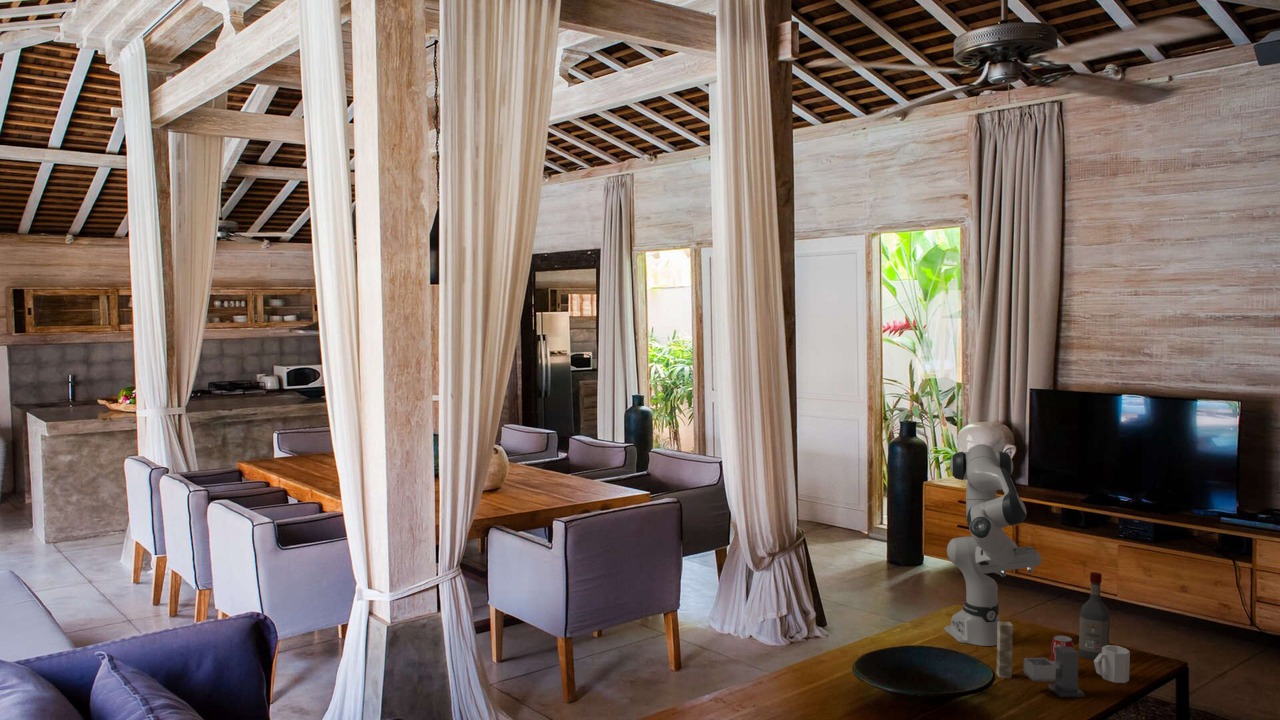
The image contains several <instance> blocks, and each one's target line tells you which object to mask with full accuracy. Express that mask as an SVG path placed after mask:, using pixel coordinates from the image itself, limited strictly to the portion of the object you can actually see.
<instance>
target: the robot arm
mask: <svg viewBox="0 0 1280 720" xmlns="http://www.w3.org/2000/svg"><path fill="white" fill-rule="evenodd" d="M949 470H950V472H951V475H952V476H953V478H954V479H956V480H959V481H960V480H961V481H964V480H965V481H966V487H965V488H966V490H965V508H966V509H965V510H966V512H965V513H966V523H967V527H968V529H969V532H970V535H971V536H959V537H954V538H951V540H949V542H948V544H947V547H946V553H947V557H948V560H949V561H950V562H951V563H952V564H953V565H955V566H956V567H957V569H959V570H960V572H961V573H962V575H963V578H964V581H965V591H966V593H965V594H966V595H965V598H966V600H963V601H962V602H961V604H963V606H962V609H961V610H959V611H957V612H956V613H954V614H953V615H952V616H951V621H950V624H949V625H946V626H944V631H945V632H947V634H949V635H950V636H951V637H953V638H954V639H955V640H956V641H957V642H959V643H962V644H970V645H975V646H981V647H985V646H986V647H991V646H992V647H993V646H997V626H998V621H1000V622H1001V618H1000V616H999V611H1000V607H999V604H998V595H999V594H998V590H999V587H998V583H997V582H996V580H995V579H993V578H992V577H990V575H987V574H991V573H992V574H993V573H994V574H997V575H1000V576H1001V578H1003V577H1007V572H1006V571H1014V570H1019V569H1026V568H1027V572H1028V573H1034V571H1035V569H1034V568H1035V567H1039V566H1041V564H1042V556H1041V554H1040V553H1039V551H1037V550H1036V549H1035V547H1031V546H1020V547H1019V546H1018V545H1017V543H1016V542H1015V541H1014V540H1013V539H1011V538H1010V537H1009V535H1007V534H1006V533H1005V531H1004V530H1003V528H1006V527H1010V526H1014V525H1020V524H1022V523H1023V522H1024V520H1025V519H1026V517H1027V515H1028V513H1027V509H1026V505H1025V503H1024V501H1023V500H1022V499H1021V497H1020V495H1019V492H1018V490H1017V488H1016V486H1015V483H1014V481H1013V478H1012V474H1013V471H1014V461H1013V460H1012V457H1011V455H1010V454H1009V453H1008V452H1004V451H999V452H998V451H994V449H993V448H992V447H991V446H990V445H987V444H983V443H981V444H976V445H973V446H972V447H970V449H969V451H966V452H965V451H964V452H963V451H959V452H956V453H954V454H952V457H951V459H950V462H949ZM997 491H1003V493H1004V494H1003V495H1001V496H999V497H998V496H997Z"/></svg>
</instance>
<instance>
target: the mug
mask: <svg viewBox="0 0 1280 720" xmlns="http://www.w3.org/2000/svg"><path fill="white" fill-rule="evenodd" d="M1130 656H1131V651H1130V650H1129V649H1127V648H1126V647H1122V646H1119V645H1110V644H1109V645H1107V646H1104V647H1102V653H1100V654H1099V655H1098V656H1097V657H1096V658H1095V660H1093V664H1094V668H1095V672H1096V674H1098V675H1100V677H1102V678H1103V680H1106V681H1109V682H1112V683H1117V684H1119V683H1120V684H1121V683H1122V684H1126V683H1127V682H1129V681H1130V664H1131V663H1130V658H1131V657H1130Z"/></svg>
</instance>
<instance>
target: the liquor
mask: <svg viewBox="0 0 1280 720" xmlns="http://www.w3.org/2000/svg"><path fill="white" fill-rule="evenodd" d="M1089 576H1090V577H1089V582H1090V595H1089V599H1088V600H1087V601H1086V602H1085V603H1084V604H1082V606H1081V608H1080V611H1079V629H1078V630H1079V633H1078V634H1079V636H1078V638H1079V639H1078V652H1079V656H1080V657H1082V658H1084V659H1087V660H1088V659H1089V660H1091V661H1092V660H1093V661H1094V660H1095V658H1096V657H1097V656H1098V655H1099V654H1100V653H1102V647H1104V646H1107V645H1110V619H1111V618H1110V615H1111V614H1110V613H1111V612H1110V610H1109V608H1108V607H1107V605H1106V604H1105V602H1103V600H1102V598H1101V583H1102V576H1103V575H1102V573H1100V572H1097V571H1096V572H1095V571H1093V572H1090V574H1089Z"/></svg>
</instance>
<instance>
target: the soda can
mask: <svg viewBox="0 0 1280 720" xmlns="http://www.w3.org/2000/svg"><path fill="white" fill-rule="evenodd" d="M1050 647H1051V651H1050V661H1056V647H1072V648H1073V649H1075V645H1074V642H1073V639H1072V638H1071V637H1069V636H1066V635H1060V634H1059V635H1054V636H1053V639H1052V641H1051V645H1050Z"/></svg>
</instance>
